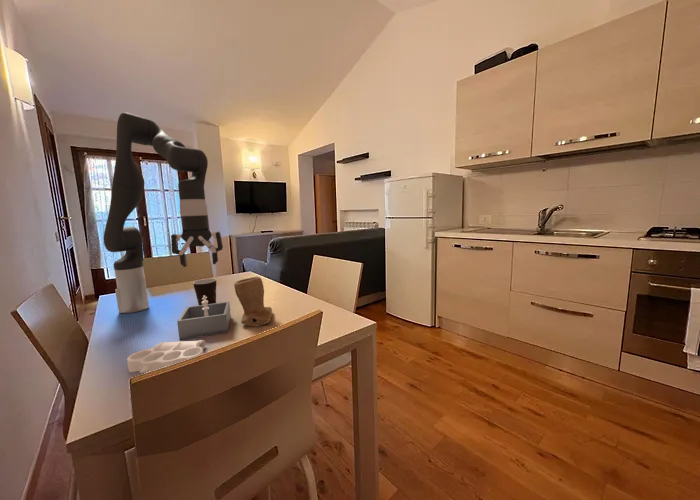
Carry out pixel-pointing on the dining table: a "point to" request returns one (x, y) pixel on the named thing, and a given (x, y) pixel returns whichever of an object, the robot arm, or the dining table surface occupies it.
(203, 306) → the chess piece
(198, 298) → the coffee mug
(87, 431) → the dining table surface
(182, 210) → the robot arm
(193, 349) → the white muffin tray
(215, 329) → the bin
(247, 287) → the tan upright curved piece
